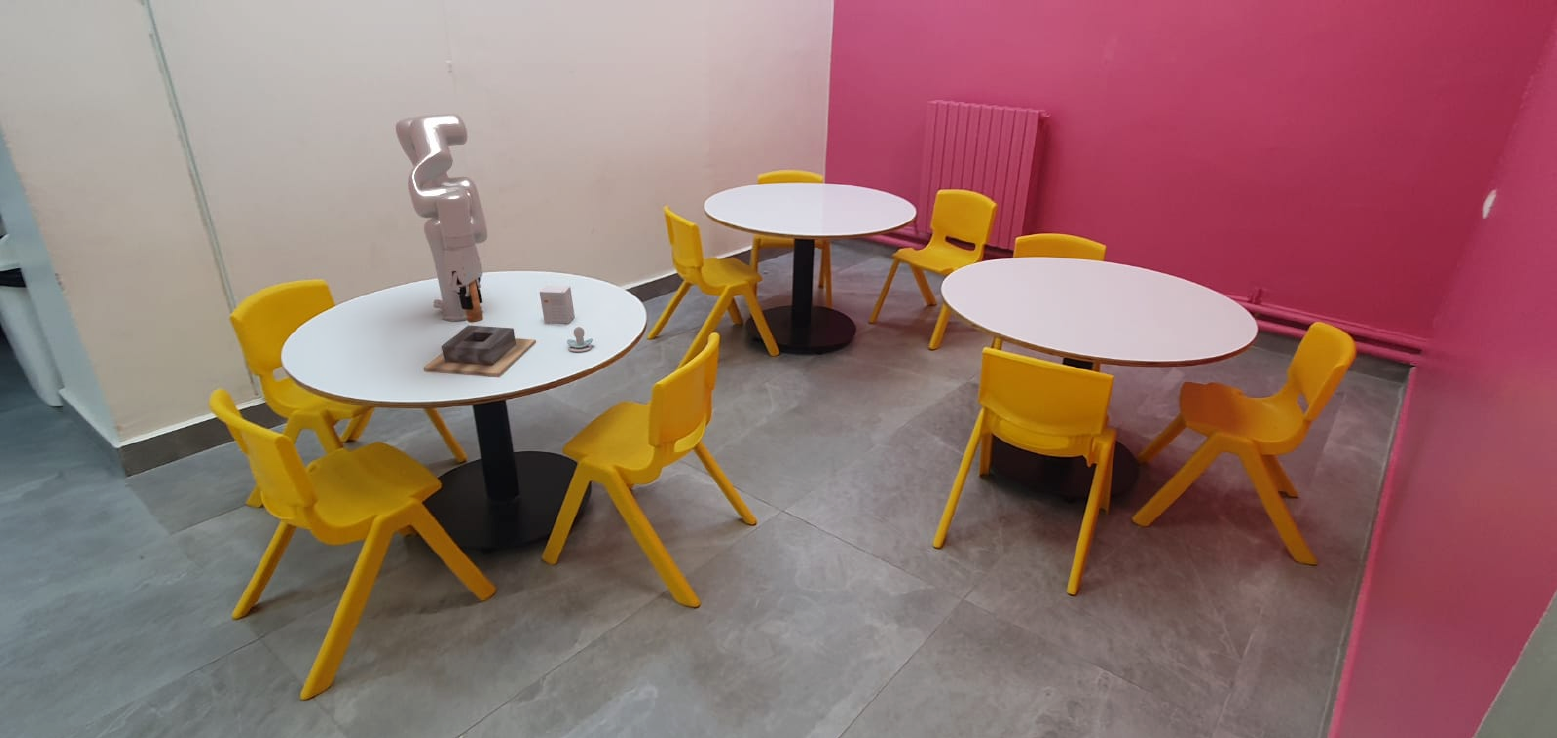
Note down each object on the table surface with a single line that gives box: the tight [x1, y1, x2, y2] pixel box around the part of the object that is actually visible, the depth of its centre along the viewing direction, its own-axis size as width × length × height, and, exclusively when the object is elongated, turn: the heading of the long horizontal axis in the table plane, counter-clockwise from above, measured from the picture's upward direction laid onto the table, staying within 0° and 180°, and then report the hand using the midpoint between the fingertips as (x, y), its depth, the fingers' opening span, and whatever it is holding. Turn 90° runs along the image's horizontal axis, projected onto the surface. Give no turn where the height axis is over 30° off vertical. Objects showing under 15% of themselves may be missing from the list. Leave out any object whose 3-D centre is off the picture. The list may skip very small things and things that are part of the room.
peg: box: [460, 280, 484, 324], centre depth 201 cm, size 4×4×12 cm
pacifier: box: [566, 326, 594, 353], centre depth 213 cm, size 7×6×6 cm
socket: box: [423, 325, 537, 378], centre depth 208 cm, size 22×22×6 cm
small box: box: [539, 285, 576, 325], centre depth 230 cm, size 8×6×10 cm
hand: (472, 305), depth 202 cm, fingers closed on peg, 4 cm apart
